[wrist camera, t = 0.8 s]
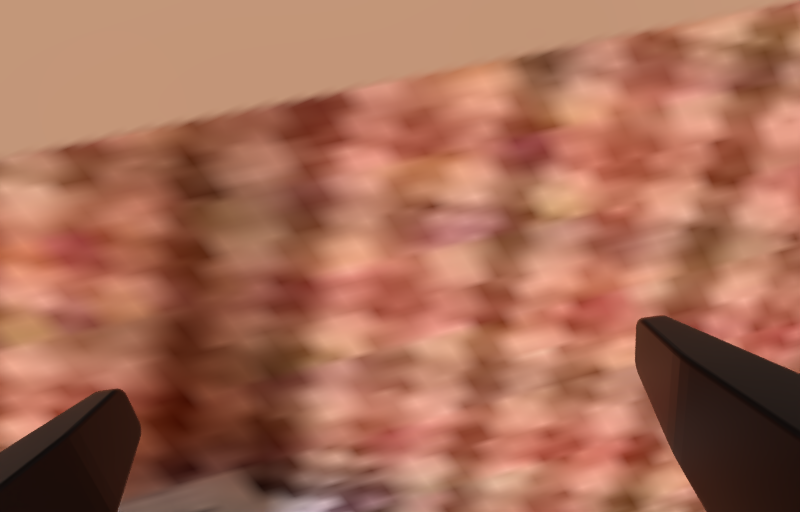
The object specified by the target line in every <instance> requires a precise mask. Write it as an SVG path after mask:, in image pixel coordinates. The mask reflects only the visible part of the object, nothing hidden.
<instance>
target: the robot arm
mask: <svg viewBox="0 0 800 512" xmlns="http://www.w3.org/2000/svg"><path fill="white" fill-rule="evenodd" d="M635 363H636V368H637V372H638V374H639V377H640V379H641V381H642V384H643V386H644V388H645V390H646V393H647V395H648V397H649V400H650V402H651V404H652V407H653V409H654V411H655V413H656V416H657V418H658V420H659V423H660V425H661V427H662V430H663V432H664V434H665V437H666V439H667V441H668V443H669V445H670V448H671V450H672V452H673V454H674V456H675V457H676V459H677V461H678V463H679V465H680V467H681V468H682V470H683V472H684V474H685V475H686V477H687V479H688V481H689V482H690V484H691V486H692V487H693V489H694V491H695V493H696V494H697V496H698V498H699V500H700V501H701V503H702V505H703V507H704V508H705V510H706V512H800V374H799V373H797V372H794V371H792V370H790V369H787V368H785V367H783V366H780V365H778V364H776V363H773V362H771V361H769V360H767V359H764V358H762V357H760V356H757V355H755V354H753V353H750V352H748V351H746V350H743V349H741V348H739V347H736V346H734V345H732V344H730V343H727V342H725V341H723V340H720V339H718V338H716V337H713V336H711V335H709V334H706V333H704V332H702V331H699V330H697V329H695V328H693V327H690V326H688V325H686V324H683V323H681V322H679V321H676V320H674V319H672V318H669V317H667V316H663V315H660V316H653V317H646V318H641V319H639V320H638V322H637V325H636V345H635ZM140 436H141V425H140V422H139V420H138V418H137V416H136V413H135V411H134V409H133V407H132V405H131V403H130V401H129V399H128V397H127V395H126V393H125V392H124V391H123V390H120V389H111V390H103V391H98V392H95V393H93V394H92V395H90V396H89V397H87V398H85V399H84V400H82V401H81V402H79V403H77V404H76V405H74V406H73V407H71V408H70V409H68V410H66V411H65V412H63V413H62V414H60V415H58V416H57V417H55V418H54V419H52V420H50V421H49V422H47V423H46V424H44V425H42V426H41V427H39V428H38V429H36V430H35V431H33V432H31V433H30V434H28V435H27V436H25V437H23V438H22V439H20V440H19V441H17V442H15V443H14V444H12V445H11V446H9V447H8V448H6V449H4V450H3V451H1V452H0V512H117V511H118V508H119V505H120V502H121V498H122V495H123V492H124V489H125V486H126V482H127V479H128V476H129V473H130V469H131V466H132V463H133V460H134V456H135V453H136V450H137V447H138V444H139V440H140Z"/></svg>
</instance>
